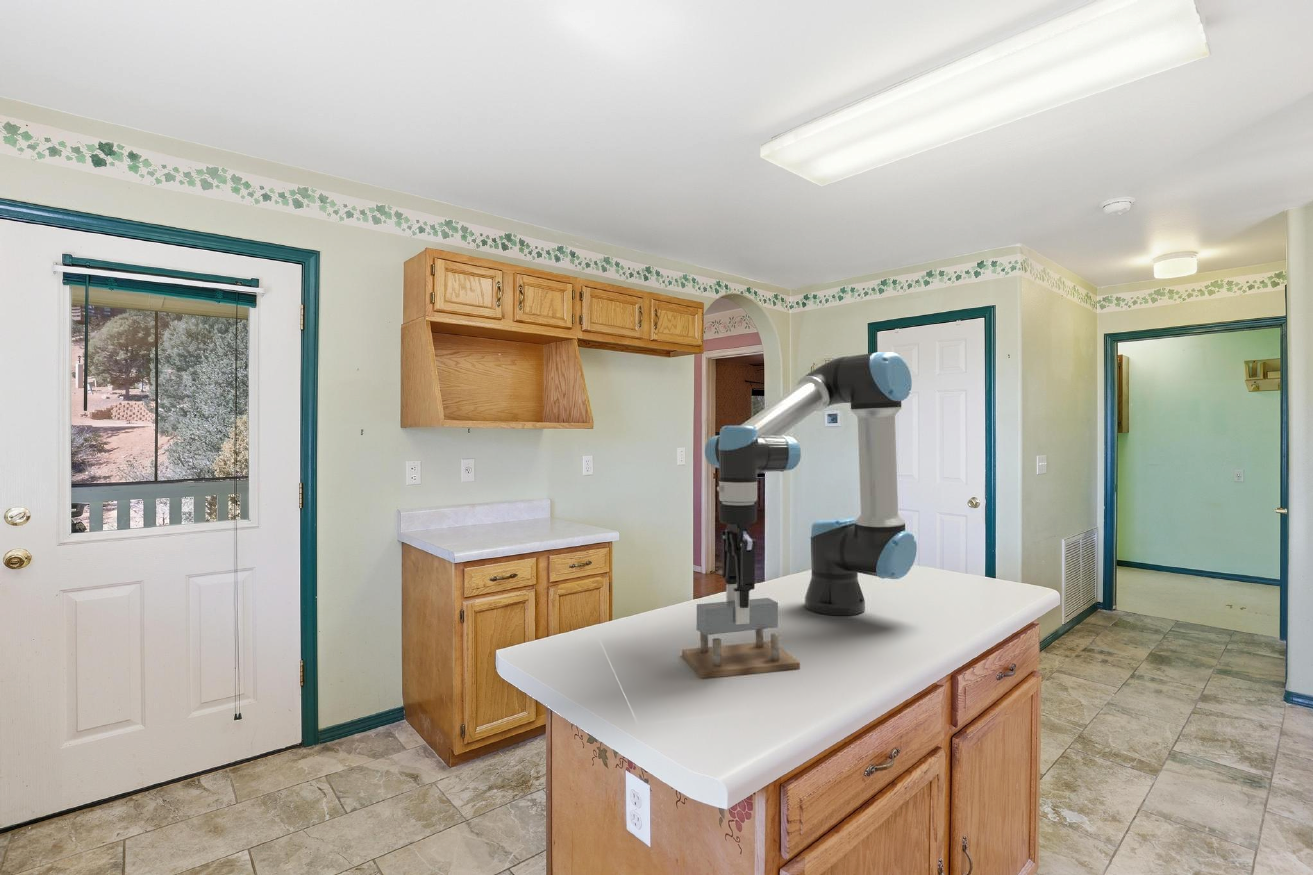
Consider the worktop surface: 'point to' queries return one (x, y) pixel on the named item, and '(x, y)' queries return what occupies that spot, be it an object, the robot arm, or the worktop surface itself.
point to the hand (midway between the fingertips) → (737, 619)
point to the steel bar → (723, 616)
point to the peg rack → (739, 657)
